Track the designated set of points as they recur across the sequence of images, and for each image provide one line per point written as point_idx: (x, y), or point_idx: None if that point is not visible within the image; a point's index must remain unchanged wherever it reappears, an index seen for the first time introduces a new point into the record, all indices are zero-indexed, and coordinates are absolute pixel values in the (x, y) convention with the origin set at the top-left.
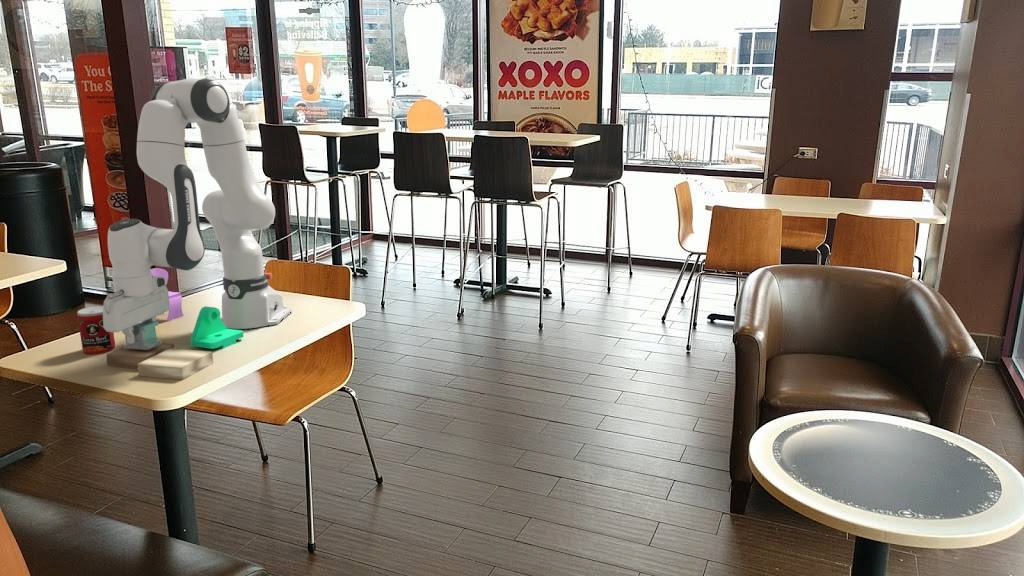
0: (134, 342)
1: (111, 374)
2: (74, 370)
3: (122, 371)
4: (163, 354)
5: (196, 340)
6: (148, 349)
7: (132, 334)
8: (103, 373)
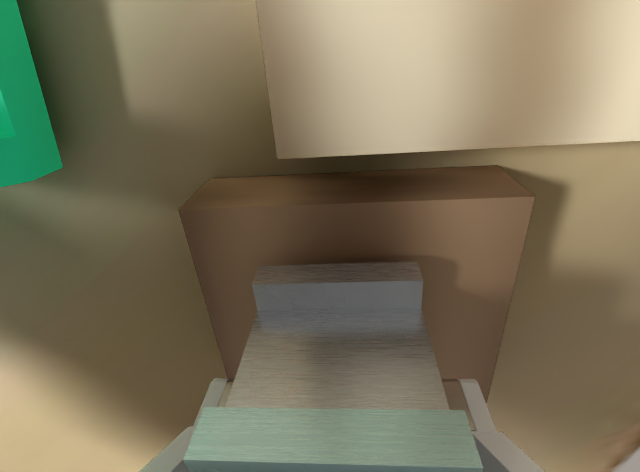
0: (454, 379)
1: (595, 290)
2: (529, 440)
3: (542, 269)
4: (438, 95)
5: (1, 129)
6: (407, 262)
7: (505, 456)
8: (575, 331)
